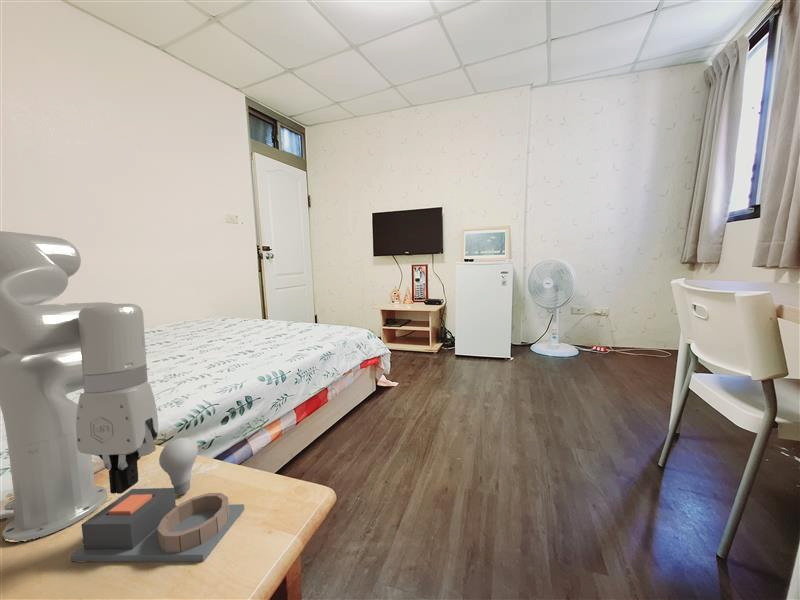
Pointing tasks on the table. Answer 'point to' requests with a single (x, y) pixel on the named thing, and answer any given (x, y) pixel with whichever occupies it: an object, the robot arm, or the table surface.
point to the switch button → (130, 504)
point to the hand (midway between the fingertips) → (125, 487)
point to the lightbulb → (179, 463)
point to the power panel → (153, 541)
